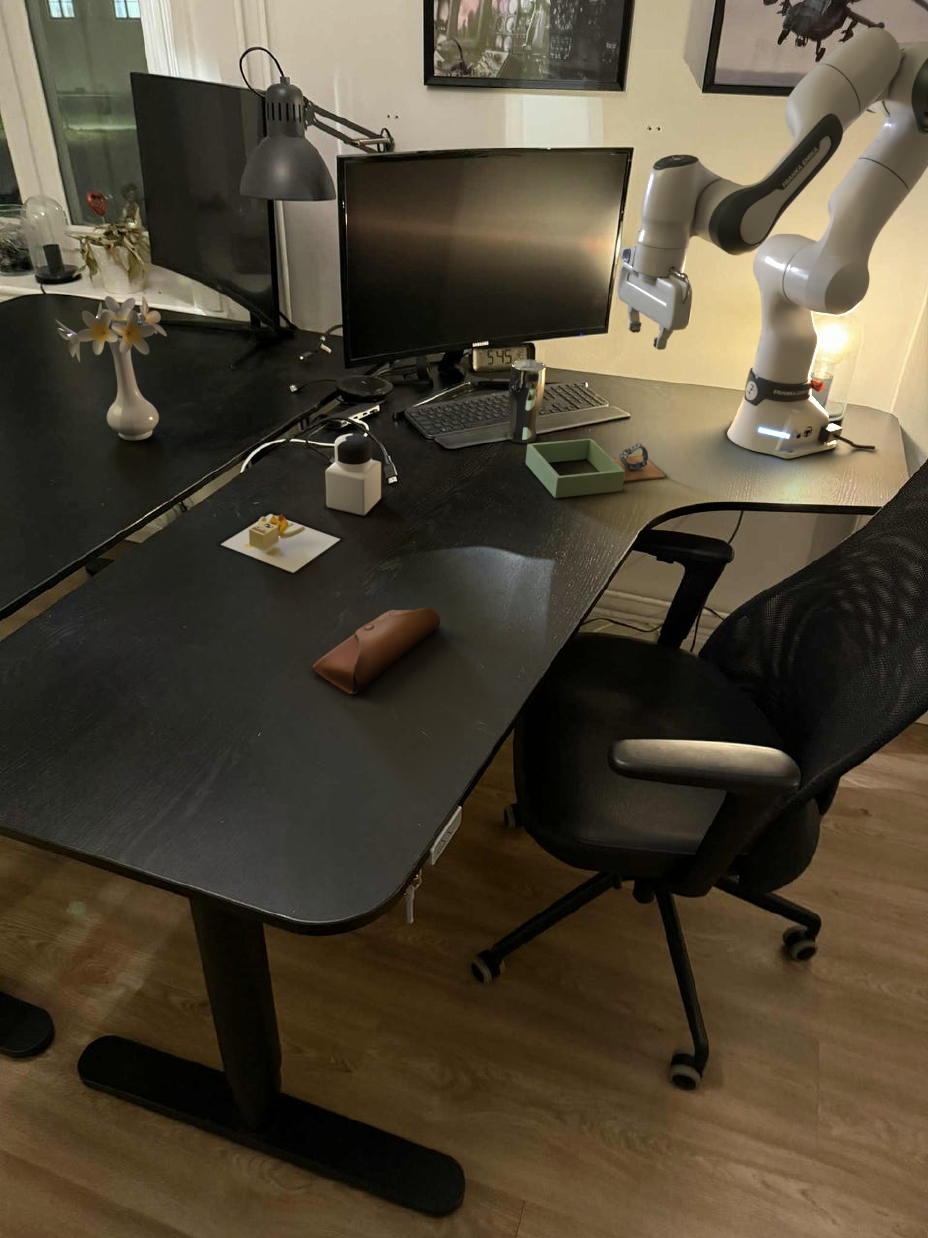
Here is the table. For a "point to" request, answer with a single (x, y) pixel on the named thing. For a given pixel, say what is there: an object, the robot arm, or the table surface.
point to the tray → (576, 484)
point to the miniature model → (281, 542)
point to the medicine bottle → (353, 476)
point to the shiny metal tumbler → (525, 399)
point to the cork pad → (639, 470)
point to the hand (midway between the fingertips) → (646, 339)
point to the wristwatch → (629, 451)
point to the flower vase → (121, 360)
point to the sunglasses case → (375, 648)
